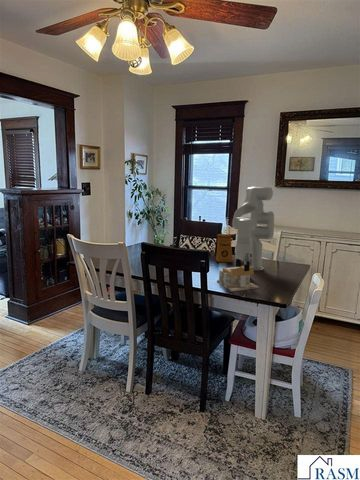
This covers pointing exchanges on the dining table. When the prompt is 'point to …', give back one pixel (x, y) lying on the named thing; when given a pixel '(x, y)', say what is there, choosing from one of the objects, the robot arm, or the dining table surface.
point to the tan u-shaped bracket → (239, 271)
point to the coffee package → (224, 248)
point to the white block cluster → (235, 281)
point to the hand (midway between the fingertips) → (242, 268)
